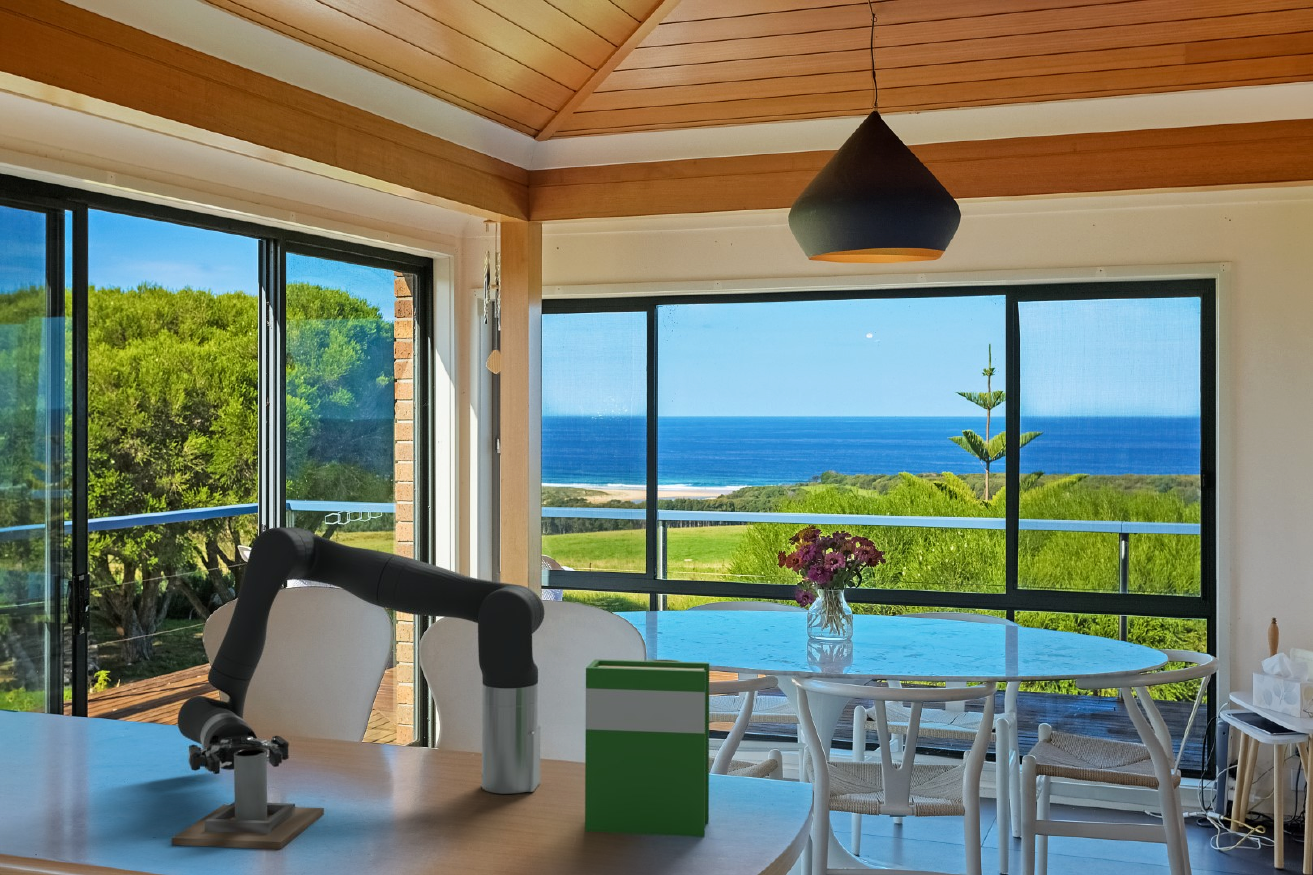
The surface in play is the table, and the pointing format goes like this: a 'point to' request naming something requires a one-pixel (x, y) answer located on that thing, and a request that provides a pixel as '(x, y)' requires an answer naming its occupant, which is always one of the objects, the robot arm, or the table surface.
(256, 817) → the grey cylinder
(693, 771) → the hardback book
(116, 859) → the table surface
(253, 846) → the base
